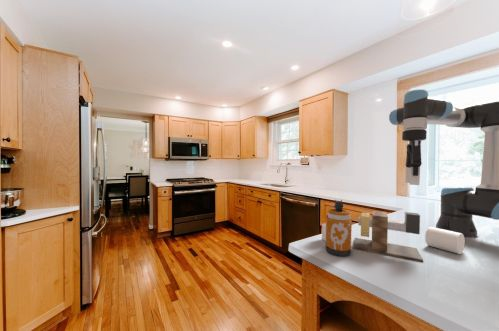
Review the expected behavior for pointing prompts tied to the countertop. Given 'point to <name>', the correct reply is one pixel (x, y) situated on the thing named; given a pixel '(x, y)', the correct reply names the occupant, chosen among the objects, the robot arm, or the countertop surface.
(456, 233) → the white rounded block
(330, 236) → the canister
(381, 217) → the bracket
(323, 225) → the medicine bottle
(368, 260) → the countertop surface
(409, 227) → the shaft
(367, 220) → the block
